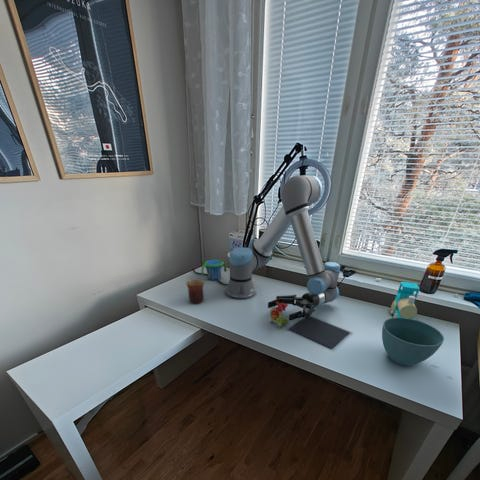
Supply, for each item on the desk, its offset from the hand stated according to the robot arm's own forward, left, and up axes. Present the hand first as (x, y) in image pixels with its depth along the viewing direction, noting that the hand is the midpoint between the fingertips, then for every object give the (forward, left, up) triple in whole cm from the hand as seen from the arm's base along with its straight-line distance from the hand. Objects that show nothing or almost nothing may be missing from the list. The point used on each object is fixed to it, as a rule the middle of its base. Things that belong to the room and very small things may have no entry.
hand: (278, 311), depth 114 cm
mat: (+16, +8, -6) cm, 19 cm away
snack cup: (-60, +16, -7) cm, 63 cm away
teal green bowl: (+47, +13, -7) cm, 49 cm away
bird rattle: (0, 0, -7) cm, 7 cm away
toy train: (+38, +44, -7) cm, 59 cm away
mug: (-44, -10, -7) cm, 46 cm away
